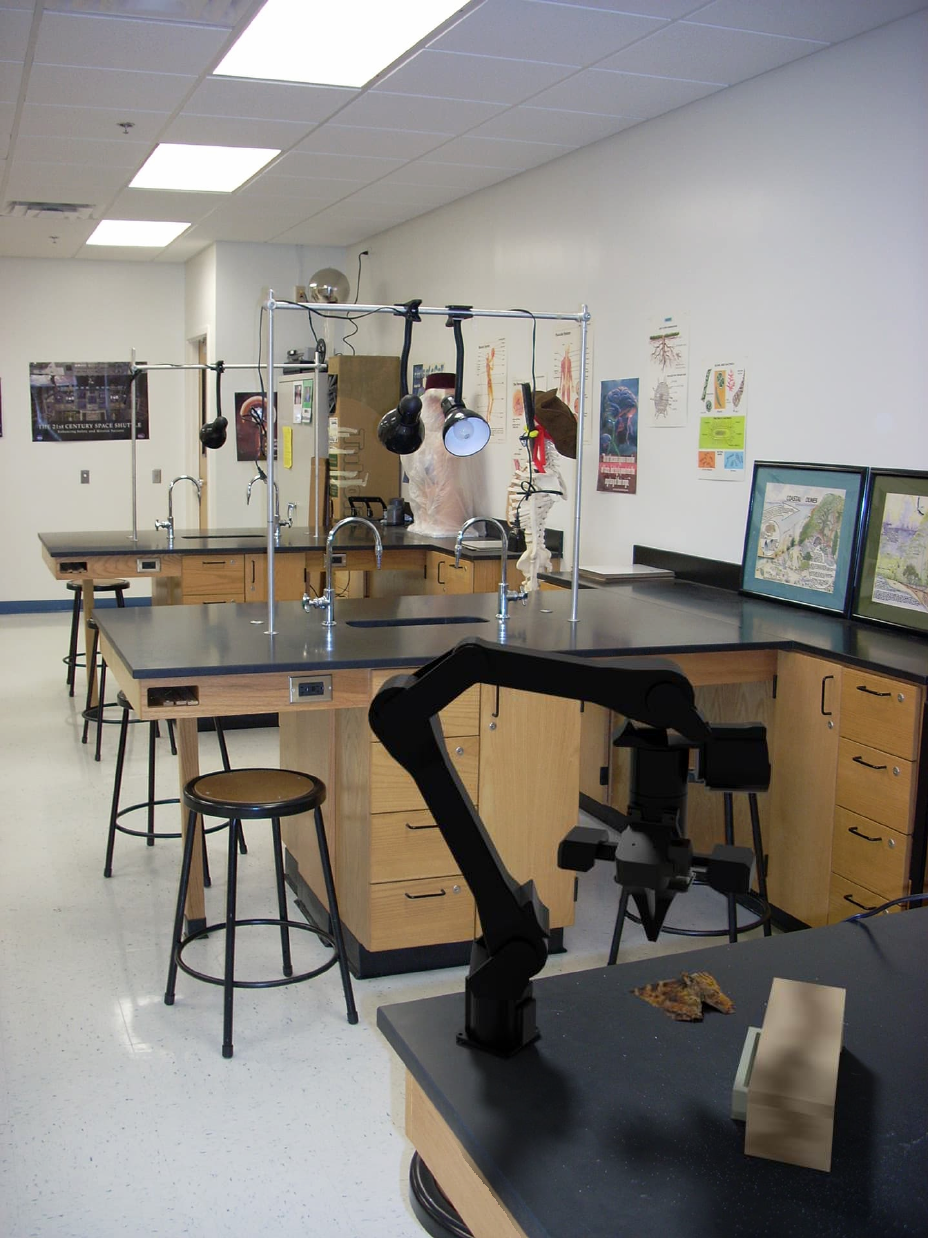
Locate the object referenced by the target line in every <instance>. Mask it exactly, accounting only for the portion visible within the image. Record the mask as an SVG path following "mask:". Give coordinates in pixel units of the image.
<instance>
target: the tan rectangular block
mask: <svg viewBox="0 0 928 1238" xmlns="http://www.w3.org/2000/svg"><path fill="white" fill-rule="evenodd" d="M846 991H847V989H846V988H841V987H836V986H835V987H834V986H829V985H821V984H816V983H809V982H804V981H798V980H790V979H785V978H781V977H780V978H779V977H773V981H772V985H771V990H770V993H769V998H768V1002H767V1006H766V1010H765V1011H766V1012H765V1015H764V1019H763V1022H762V1023H763V1024H762V1027H761V1029H762V1031H761V1036H760V1040H759V1044H758V1048H757V1053H756V1057H755V1061H754V1065H753V1070H752V1074H751V1078H750V1082H749V1087H748V1096H747V1116H746V1121H745V1137H744V1140H745V1141H744V1155H748V1156H753V1157H758V1158H763V1159H767V1160H770V1161H771V1160H773V1161H777V1162H781V1163H786V1164H791V1165H794V1166H800V1167H805V1168H807V1169H808V1168H810V1169H815V1170H817V1171H818V1170H819V1171H823V1172H828V1173H830V1172H831V1164H832V1163H831V1161H832V1147H833V1145H832V1144H833V1131H834V1118H835V1117H834V1115H835V1104H836V1103H835V1102H836V1096H837V1095H836V1094H837V1093H836V1092H837V1085H838V1084H837V1083H838V1076H839V1075H838V1074H839V1064H840V1053H842V1050H843V1036H844V1027H845V1025H844V1023H845V1010H846V1009H845V1007H846V994H847V993H846Z"/></svg>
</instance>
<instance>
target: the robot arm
mask: <svg viewBox="0 0 928 1238" xmlns="http://www.w3.org/2000/svg"><path fill="white" fill-rule="evenodd" d="M476 684H484V685H488V686H489V685H490V686H495V687H501V688H506V689H511V690H512V689H513V690H517V691H524V692H529V693H536V694H540V695H547V696H553V697H557V698H558V697H559V698H563V699H569V700H576V701H580V702H586V703H592V704H595V705H598V706H601V707H603V708H605V709H608V710H610V711H611V712H614V713H616V714H618V715H620V716H622V717H625V719H624V720H623V722H622V723H621V724H620V725H619V726H618V727H617V728H615V729H614V730H612V731H610V737H611V738H610V739H611V743H612V746H613V747H615V748H629V769H628V772H629V773H628V803H627V806H626V807H627V809H626V817H625V818H626V819H625V822H624V824H623V827H622V830H621V832H620V839H619V841H618V842H617V841H610V834H609V831H608V829H602V828H596V827H595V828H594V827H587V826H580V825H575V826H574V827H572V828H571V829H570V830H568V832H567V833H566V834H565V836H563V838H562V839H561V841H560V842H559V843H558V847H557V853H556V854H557V856H556V859H557V861H556V862H557V864H556V867H557V868H558V869H560V870H566V871H573V872H580V873H587V872H589V871H590V870H591V869H592V868H594V867H595V865H596V862H597V861H604V862H605V861H606V862H613V863H615V873H616V874H615V875H614V876H613V881H614V883H615V884H617V885H621V886H622V887H624V888H625V889H626V890H628V891H629V893H630V895H631V897H632V898H633V901H634V903H635V906H636V908H637V911H638V914H639V917H640V921H641V924H642V926H643V930H644V932H645V936H646V938H647V941H648V942H650V943H657V941H658V939H659V937H660V935H661V931H662V929H663V926H664V923H665V921H666V918H667V916H668V913H669V910H670V907H671V906H672V902H673V901H674V900H675V898H676V896H677V894H679V893H680V894H686V893H688V892H690V890H691V887H692V884H693V883H694V880H695V878H696V876H697V874H700V875H701V874H702V875H706V882H707V883H708V884H709V886H710V887H711V888H712V889H713V890H714V891H718V892H722V893H732V894H738V895H745V894H750V891H751V888H752V885H753V881H754V879H755V876H756V866H757V865H756V864H757V863H756V862H757V856H756V853H755V852H754V851H753V850H752V848H751V847H747V846H746V847H745V846H738V845H731V844H723V843H715V844H714V846H713V849H712V851H711V852H710V854H709V853H703V852H702V853H701V852H695V851H693V843H692V840H691V839H690V838H687V829H688V827H687V826H688V803H689V802H688V801H689V774H690V772H689V771H690V769H689V768H690V751H691V750H692V749H693V750H694V751H693V774H694V779H695V782H702V781H703V785H704V788H705V790H706V792H709V793H711V792H712V793H743V794H744V793H746V794H767V793H768V791H769V789H770V784H771V775H772V764H771V762H770V758H769V757H770V756H769V755H770V754H769V753H770V752H769V744H768V740H767V735H768V734H767V730H768V728H767V727H766V726H765V725H764V723H763V722H762V721H746V722H742V723H741V722H738V723H737V722H736V723H735V722H730V723H729V722H709V719H708V718H707V715H706V714H705V712H704V711H703V709H698V707H697V706H696V704H695V703H696V702H695V699H696V698H695V697H696V694H695V690H694V688H693V685H692V683H691V681H690V679H689V677H688V676H687V675H686V673H685V672H684V670H683V669H682V667H681V666H680V665H679V664H678V663H676V662H675V661H673V660H671V659H668V658H667V657H666V658H663V657H627V658H626V657H625V658H615V659H594V658H588V657H583V656H577V655H571V654H570V655H569V654H565V653H559V652H553V651H547V650H541V649H537V648H531V647H524V646H521V645H520V646H518V645H513V644H507V643H502V642H501V643H500V642H496V641H490V640H487V639H485V638H482V637H480V636H474V635H473V636H470V635H469V636H467V637H464V638H462V639H461V640H460V641H458V642H457V643H456V645H455V646H454V647H451V648H450V649H449V650H447V651H446V652H443V654H441V655H439V656H437V657H436V658H434V659H432V660H431V661H428V662H427V663H426V664H424V665H422V666H421V667H420V668H419V669H417V670H415V671H414V672H412V673H400V674H397V675H392V676H391V677H389V678H388V679H386V680H385V681H384V682H383V683H382V684H381V686H380V687H379V689H378V691H377V692H376V694H375V695H374V697H373V699H372V700H371V702H370V705H369V708H368V713H367V720H368V721H367V722H368V724H369V727H370V729H371V731H372V733H373V734H374V735H375V737H376V738H377V739H378V741H379V742H380V743H381V745H382V746H383V747H384V749H385V750H386V751H387V753H388V754H389V755H390V757H391V758H392V759H393V760H394V761H395V762H396V763H397V764H398V765H400V767H402V768H403V769H404V770H405V772H406V773H408V774H409V775H410V776H411V778H412V779H413V781H414V783H415V785H416V786H417V789H418V791H419V793H420V795H421V796H422V799H423V801H424V802H425V805H426V806H427V808H428V810H429V812H430V814H431V816H432V817H433V820H434V822H435V825H436V826H437V827H438V830H439V831H440V834H441V836H442V838H443V839H444V840H443V841H445V843H446V845H447V847H448V850H449V851H450V854H451V855H452V857H453V859H454V861H455V863H456V865H457V867H458V869H459V871H460V873H461V875H462V877H463V879H464V881H465V882H466V885H467V886H468V889H469V890H470V893H471V894H472V897H473V898H474V901H475V905H476V909H477V915H478V919H479V923H480V927H481V931H482V933H481V934H480V936H479V937H477V938H476V939H475V940H474V941H473V942H472V947H471V955H470V963H469V970H468V974H467V975H465V977H464V1027H463V1028H461V1029H460V1030H458V1031H457V1032H456V1033H455V1040H456V1041H459V1042H461V1043H465V1044H467V1045H470V1046H472V1047H476V1048H478V1049H480V1050H484V1051H486V1052H489V1053H491V1054H494V1055H496V1056H499V1057H502V1058H510V1057H512V1056H513V1055H514V1054H516V1053H517V1052H518V1051H519V1050H520V1049H522V1048H523V1047H524V1046H525V1045H527V1044H528V1043H530V1041H532V1040H533V1039H534V1038H536V1036H537V1037H538V1035H539V1034H540V1033H541V1027H540V1026H538V1025H537V999H536V998H535V997H534V996H533V995H534V982H533V980H530V979H531V978H534V977H535V976H537V975H538V974H540V973H541V971H542V970H543V969H544V968H545V966H546V963H547V961H548V958H549V945H548V943H549V941H548V940H549V939H550V938H551V931H550V929H551V928H550V926H551V925H550V908H548V907H547V906H546V904H544V903H543V901H542V900H541V898H540V897H539V894H538V891H537V890H538V889H537V887H536V884H535V882H534V879H532V878H531V879H529V880H528V881H526V882H524V883H523V884H520V883H519V882H518V881H517V879H515V878H514V876H512V875H511V873H510V872H509V871H508V870H507V867H506V865H505V863H504V861H503V859H502V858H501V856H500V854H499V852H498V850H497V848H496V846H495V844H494V841H493V840H492V838H491V835H490V834H489V832H488V830H487V828H486V826H485V823H484V822H483V820H482V818H481V816H480V813H479V811H478V809H477V808H476V806H475V805H474V802H473V800H472V798H471V796H470V795H469V792H468V791H467V789H466V787H465V784H464V782H463V781H462V778H461V777H460V774H459V773H458V771H457V768H456V766H455V765H454V763H453V762H454V761H452V759H451V757H450V754H449V752H448V749H447V744H446V740H445V739H446V738H445V735H444V731H443V725H442V721H441V717H440V714H439V712H441V711H442V710H444V709H445V708H446V707H448V705H449V704H451V703H452V702H453V701H455V700H456V699H457V698H458V697H460V696H461V695H462V694H463V693H464V692H466V691H467V690H469V689H471V688H472V687H473V686H474V685H476ZM634 721H636V722H638V723H640V724H644V725H645V726H644V725H642V726H639V725H638V724H636V723H635V722H634ZM670 729H672V730H673V731H675V732H676V733H678V734H675V733H673V734H671V733H668V731H667V730H670ZM655 892H656V894H655ZM655 895H656V899H655Z"/></svg>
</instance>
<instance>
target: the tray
mask: <svg viewBox="0 0 928 1238" xmlns="http://www.w3.org/2000/svg"><path fill="white" fill-rule="evenodd" d="M761 1031H762V1028H759V1027H753V1026H748V1030H747V1035H746V1038H745V1042H744V1044H743V1049H742V1053H741V1056H740V1061H739V1065H738V1068H737V1072H736V1075H735V1080H734V1082H733V1087H732V1097H731V1116H730V1117H731V1119H733V1120H739V1121H743V1122H746V1116H747V1096H748V1087H749V1082H750V1078H751V1074H752V1070H753V1065H754V1061H755V1057H756V1053H757V1048H758V1044H759V1040H760V1036H761Z"/></svg>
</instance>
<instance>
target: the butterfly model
mask: <svg viewBox="0 0 928 1238" xmlns="http://www.w3.org/2000/svg"><path fill="white" fill-rule="evenodd" d="M680 976H681V978H674V979H663V980H659V981H656V982H651V983H648V984H645V985H642V986H640V987H637V988H634V989H632V990H629V991H628V993H630V994H633V995H637V996H638V997H639V998H641V999H643V1000H645V1001H646V1002H649V1004H651V1005H652V1007H655V1006H656V1008H658V1009H660V1010H661V1011H663V1013H665V1014H666V1015H667V1016H668V1017H670V1018H671V1019H673V1020H676V1021H684V1020H685V1021H689V1022H693V1020H694V1019H698V1020H701V1019H703V1014H702V1013H701V1012H702V1011H703V1010H702V1007H703V1004H702V1002H705V1003H707V1004H708V1005H710V1006H712V1007H713V1008H715V1009H718V1010H719V1011H720V1012H721V1013H723V1014H725V1015H731V1014H734V1013H736V1011H735V1010H737V1007H736V1005H735V1003H734V1002H733V1001H732V999H730V998H728V997H727V996H726V995H725V994H724V993H723V992H722V989H721V988H720V986H719V985H718V982H717V981H716V980H715V979H714V977H713V976H712V974H710V973H709V972H695V973H693V974H691V975H690V973H689V972H687V971H680Z"/></svg>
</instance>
